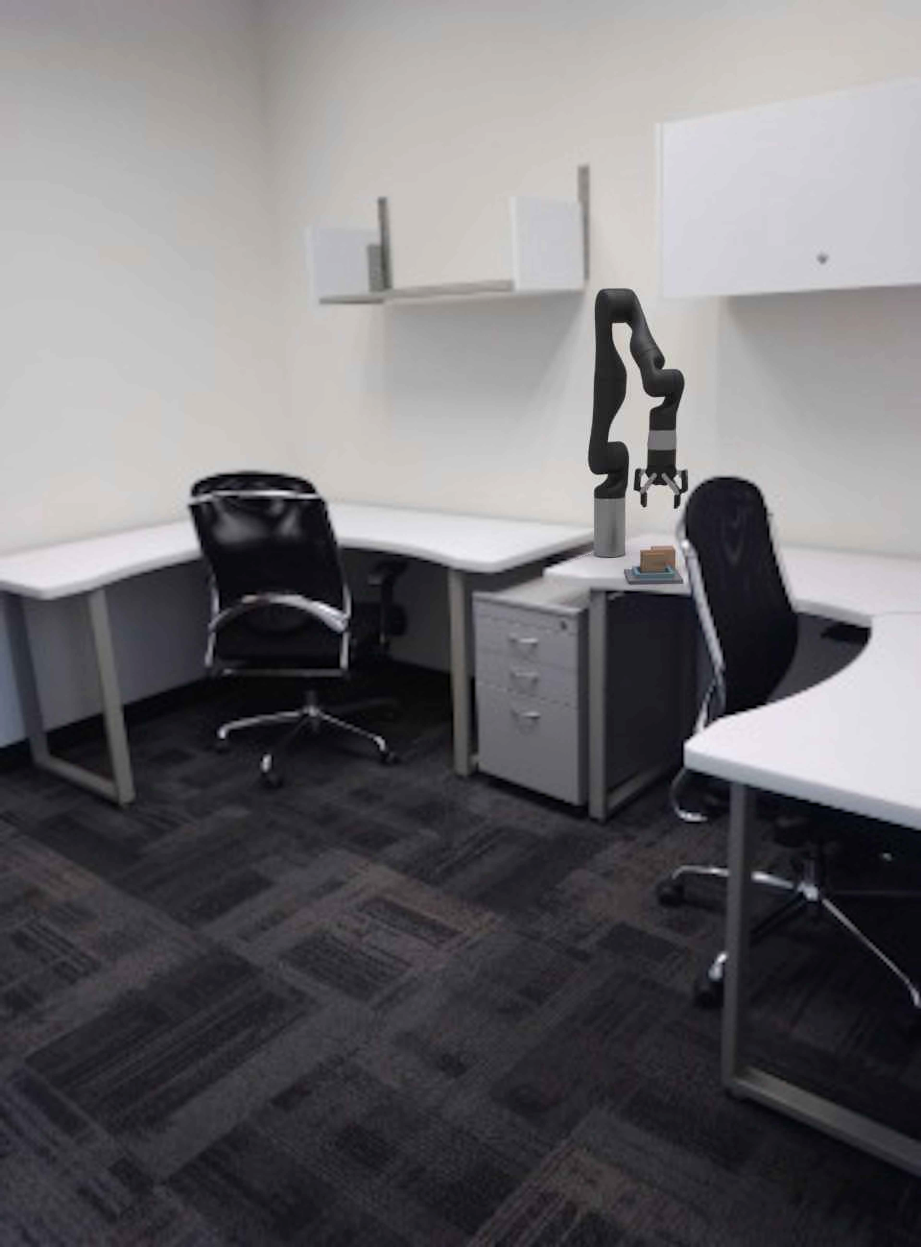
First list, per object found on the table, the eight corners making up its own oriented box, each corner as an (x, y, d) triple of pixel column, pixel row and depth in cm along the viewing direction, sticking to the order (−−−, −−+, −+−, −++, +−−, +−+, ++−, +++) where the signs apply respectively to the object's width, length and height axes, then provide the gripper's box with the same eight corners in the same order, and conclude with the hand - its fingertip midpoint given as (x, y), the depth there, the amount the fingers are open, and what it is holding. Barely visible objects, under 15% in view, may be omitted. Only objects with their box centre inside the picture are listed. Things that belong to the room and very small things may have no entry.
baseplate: (623, 572, 266) (623, 564, 266) (675, 571, 265) (675, 563, 264) (628, 584, 253) (628, 576, 252) (683, 583, 252) (683, 575, 251)
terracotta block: (650, 567, 272) (650, 546, 271) (672, 566, 272) (672, 545, 270) (653, 571, 267) (653, 550, 265) (675, 571, 266) (675, 549, 264)
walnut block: (640, 571, 262) (640, 550, 260) (662, 571, 261) (662, 549, 260) (642, 576, 256) (642, 554, 254) (665, 576, 256) (665, 553, 254)
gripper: (692, 445, 257) (689, 506, 262) (639, 444, 263) (638, 504, 268) (685, 449, 251) (683, 511, 256) (631, 447, 257) (630, 508, 262)
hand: (660, 507), depth 262 cm, fingers open, 8 cm apart
